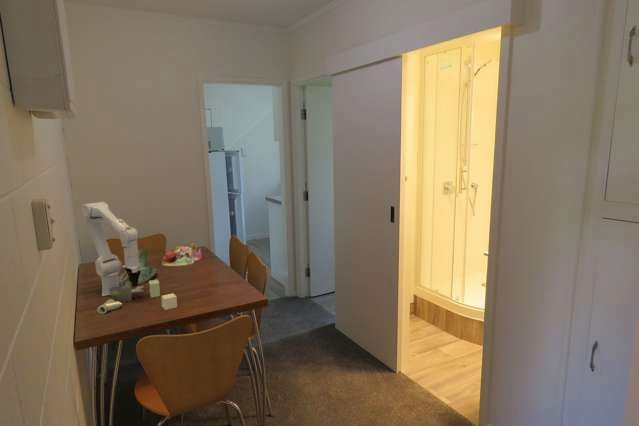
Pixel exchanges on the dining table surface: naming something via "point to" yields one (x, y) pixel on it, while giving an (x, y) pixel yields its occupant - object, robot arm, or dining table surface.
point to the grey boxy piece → (121, 293)
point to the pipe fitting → (109, 306)
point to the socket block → (154, 288)
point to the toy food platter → (182, 256)
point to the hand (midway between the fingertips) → (133, 283)
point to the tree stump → (144, 267)
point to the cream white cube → (169, 301)
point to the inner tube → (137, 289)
